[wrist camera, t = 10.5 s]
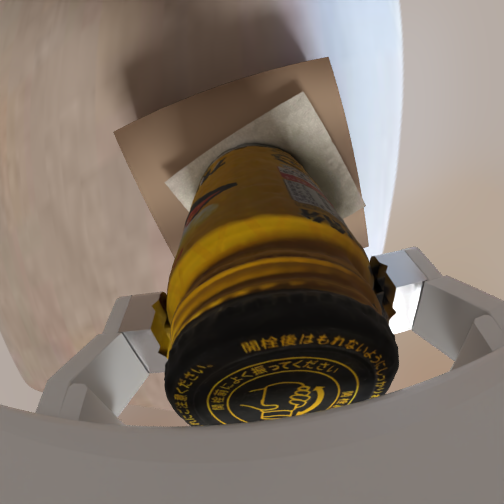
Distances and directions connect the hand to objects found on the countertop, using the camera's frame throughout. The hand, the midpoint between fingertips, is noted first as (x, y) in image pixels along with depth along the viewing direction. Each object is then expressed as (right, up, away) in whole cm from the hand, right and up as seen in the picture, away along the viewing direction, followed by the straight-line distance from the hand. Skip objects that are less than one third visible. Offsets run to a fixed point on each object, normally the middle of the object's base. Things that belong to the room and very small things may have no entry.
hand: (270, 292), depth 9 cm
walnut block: (-1, +7, +12) cm, 14 cm away
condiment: (0, +5, +7) cm, 9 cm away
